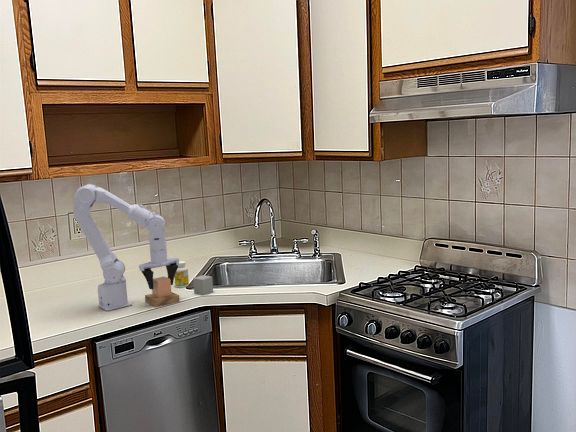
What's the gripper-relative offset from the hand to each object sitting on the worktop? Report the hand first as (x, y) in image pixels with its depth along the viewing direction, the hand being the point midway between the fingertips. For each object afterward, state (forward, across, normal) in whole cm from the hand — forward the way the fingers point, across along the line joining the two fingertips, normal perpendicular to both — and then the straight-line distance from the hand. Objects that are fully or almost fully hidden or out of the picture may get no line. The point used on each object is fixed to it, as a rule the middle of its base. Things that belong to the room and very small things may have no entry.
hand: (161, 286), depth 207 cm
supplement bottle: (+6, +16, +14) cm, 22 cm away
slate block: (+6, +16, -1) cm, 17 cm away
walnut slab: (+6, 0, 0) cm, 6 cm away
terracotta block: (+3, 0, 0) cm, 3 cm away
